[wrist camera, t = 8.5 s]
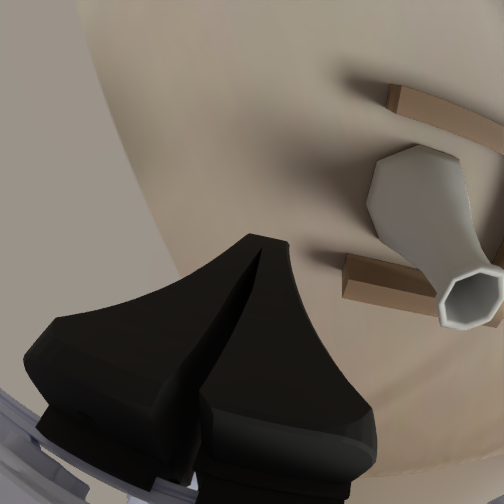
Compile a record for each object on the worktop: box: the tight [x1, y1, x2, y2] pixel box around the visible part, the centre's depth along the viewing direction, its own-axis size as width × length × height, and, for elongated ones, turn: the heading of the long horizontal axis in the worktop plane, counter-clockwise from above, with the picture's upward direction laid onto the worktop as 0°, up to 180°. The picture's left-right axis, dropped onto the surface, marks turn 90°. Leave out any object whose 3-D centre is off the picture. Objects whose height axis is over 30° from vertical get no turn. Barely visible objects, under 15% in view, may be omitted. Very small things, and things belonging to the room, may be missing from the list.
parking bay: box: [342, 84, 504, 328], centre depth 16 cm, size 13×13×3 cm
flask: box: [366, 145, 504, 331], centre depth 14 cm, size 7×7×10 cm
